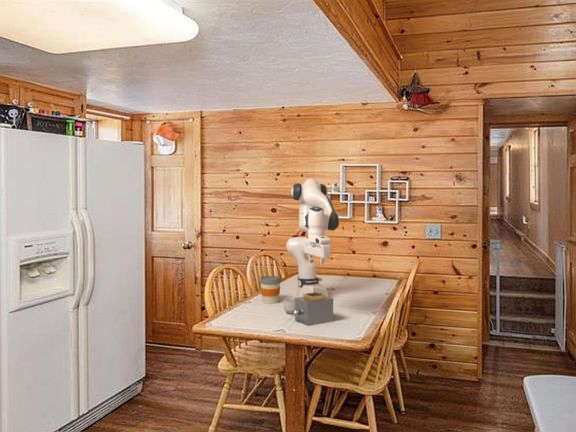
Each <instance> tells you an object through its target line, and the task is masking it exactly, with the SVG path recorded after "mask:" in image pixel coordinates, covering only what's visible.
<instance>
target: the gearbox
mask: <svg viewBox="0 0 576 432" xmlns="http://www.w3.org/2000/svg"><path fill="white" fill-rule="evenodd" d="M330 297H331V296H330ZM330 297H327V296H325V295H323V294H320V293H317V292H314V293H306V294H303V297H298V298H295V311H293V314H292V315H293V316H294V321H296V322H297V323H300V324H302V325H305V326H307V327H308V326H313V325H314V324H315V325H319V324H320V323H321V324H325V323H326V322H327V323H331V322H334V298H330Z"/></svg>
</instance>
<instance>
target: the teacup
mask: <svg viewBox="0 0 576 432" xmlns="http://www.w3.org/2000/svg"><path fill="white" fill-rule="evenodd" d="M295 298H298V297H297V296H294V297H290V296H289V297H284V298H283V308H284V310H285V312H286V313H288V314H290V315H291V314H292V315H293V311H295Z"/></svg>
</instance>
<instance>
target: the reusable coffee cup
mask: <svg viewBox="0 0 576 432" xmlns="http://www.w3.org/2000/svg"><path fill="white" fill-rule="evenodd" d="M281 282H282V281H281V277H280V276H277V275H265V276H261V277H260V278H259V283H260V288H259V289H260V295H261V299H262V303H263V304H264V305H276V304H278V303H279V295H280V293H281Z"/></svg>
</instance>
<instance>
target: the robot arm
mask: <svg viewBox="0 0 576 432" xmlns="http://www.w3.org/2000/svg"><path fill="white" fill-rule="evenodd" d="M327 188H328V187H327V186H326V185H325V184H323V183H319V181H318V180H317V179H315V178H311V177H310V178H307V179H305V180H304V182H303V183H294V184H293V185H292V187H291V190H290V191H291V192H290V193H291V197H292V199H293V200H294V201H299V202H300V203H299V208H298V228H299V229H300V230H301V231H302V232H305V233H306V234H307V236H295V237H290V238H289V239H288V240H287V241H286V243H285V249H286V251H287V252H288V253H289V254H290V255H291V256H292V257H293V258H294V260H295V262H296V263H297V271H298V272H297V273H298V277H297V293H296V297H303V294H306V293H314V292H317V293H320V294H323V295H325V296H327V297H330V298H332V296H330V295H329V292H328V289H327V288H326V287H325V286H323V285H322V284H321V283H320V282H322V281H323V278H322V277H318V276H317V265H316V263H315V261H314V258H313V256H314V257H318V258H319V260H320V261H319V262H318V264H319V265H318V266H320V267H324V263H325V260H326V259H329V258H330V256H331V246H330V245H331V244H330V243H331V239H330V238H329V237H328V236H327V235H326V234H325V233H326V232H325V231H335V230H337V229H338V228H339V226H340V218H339V214H338V213H337V212H336V209H335V207H334V206H333V204H332V201H331V200H330V198H329V197H328V189H327ZM307 257H308V258H307Z"/></svg>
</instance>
